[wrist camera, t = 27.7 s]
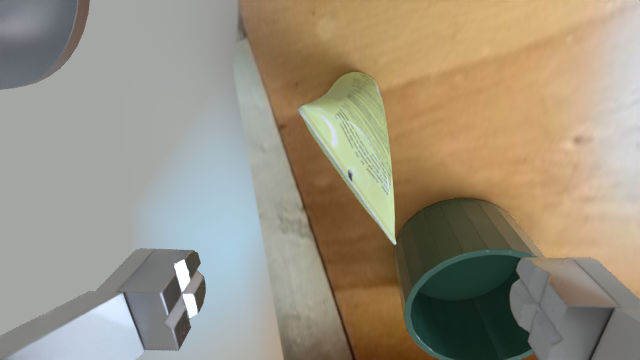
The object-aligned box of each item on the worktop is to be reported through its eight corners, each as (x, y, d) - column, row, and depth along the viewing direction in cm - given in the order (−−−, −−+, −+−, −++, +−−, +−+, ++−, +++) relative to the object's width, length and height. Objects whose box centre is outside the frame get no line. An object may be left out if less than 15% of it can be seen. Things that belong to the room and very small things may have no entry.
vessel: (390, 296, 41) (399, 362, 33) (397, 197, 35) (410, 247, 27) (508, 301, 40) (547, 371, 32) (536, 198, 34) (593, 251, 26)
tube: (317, 115, 32) (274, 216, 15) (329, 62, 30) (297, 108, 13) (372, 129, 33) (395, 246, 15) (388, 77, 30) (438, 144, 13)
